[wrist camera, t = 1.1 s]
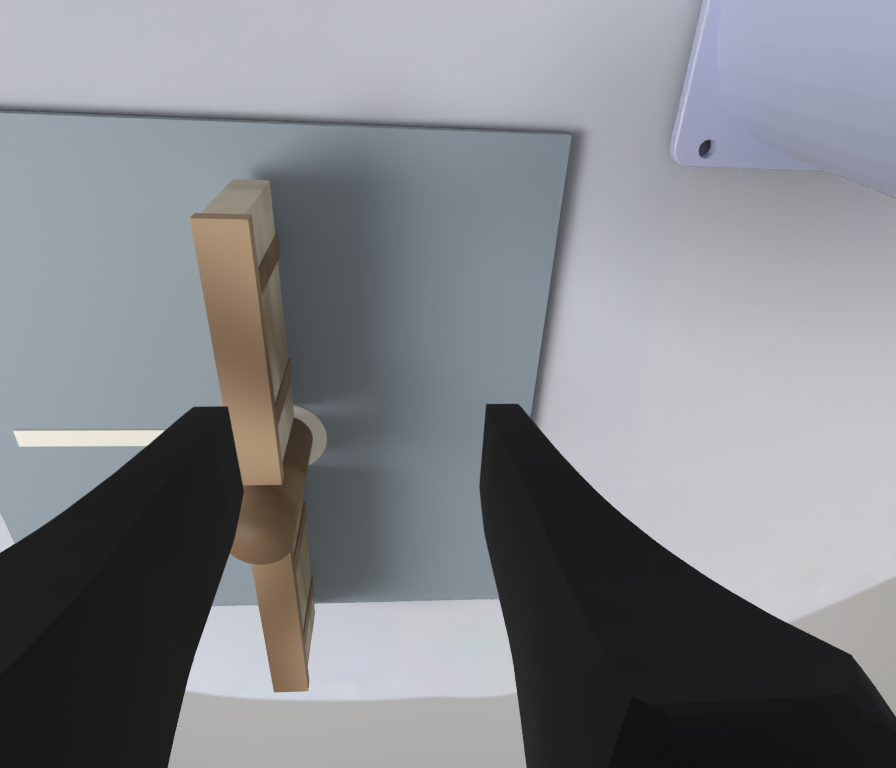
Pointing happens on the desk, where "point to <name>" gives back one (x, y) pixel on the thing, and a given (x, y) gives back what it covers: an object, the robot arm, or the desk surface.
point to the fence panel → (247, 323)
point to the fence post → (281, 563)
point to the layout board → (305, 316)
